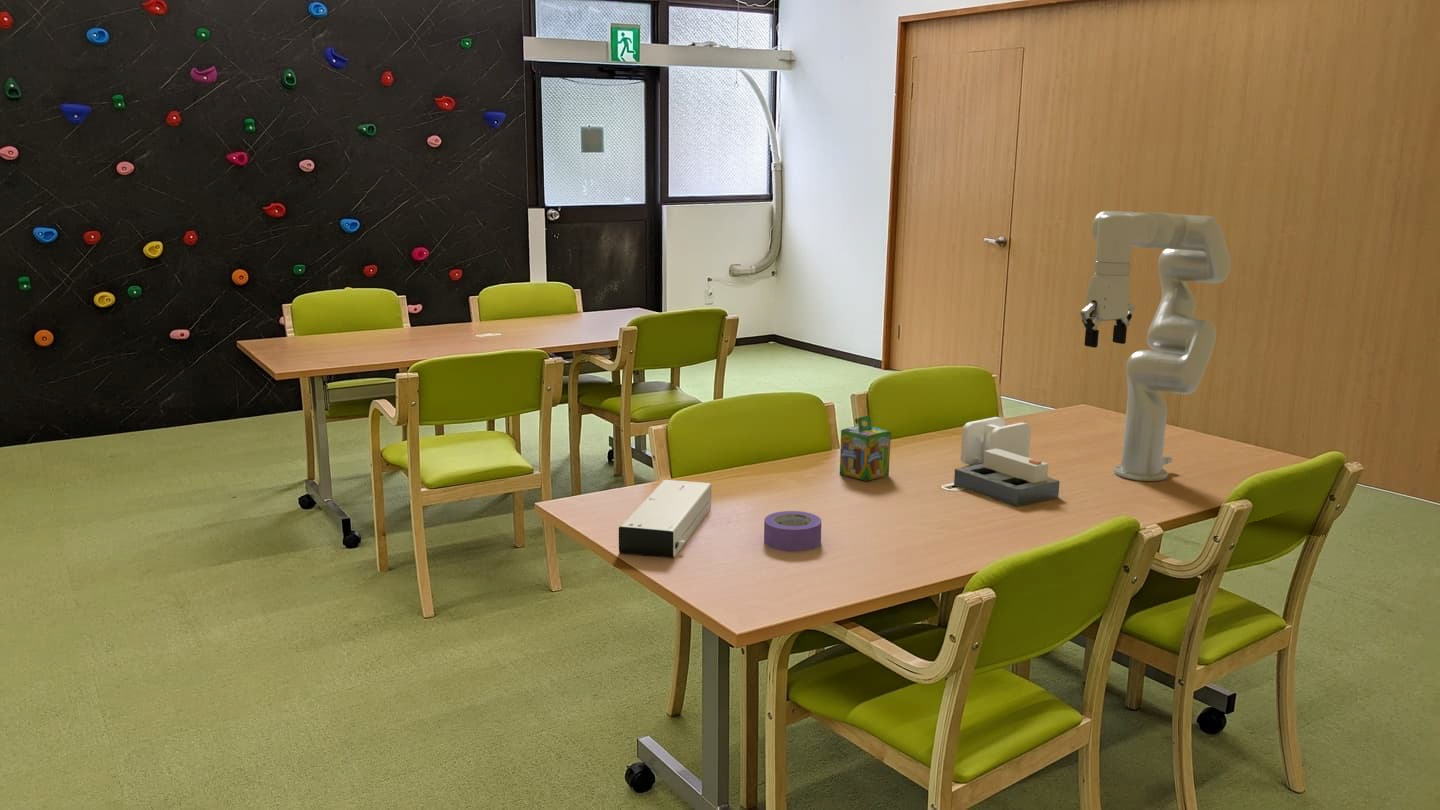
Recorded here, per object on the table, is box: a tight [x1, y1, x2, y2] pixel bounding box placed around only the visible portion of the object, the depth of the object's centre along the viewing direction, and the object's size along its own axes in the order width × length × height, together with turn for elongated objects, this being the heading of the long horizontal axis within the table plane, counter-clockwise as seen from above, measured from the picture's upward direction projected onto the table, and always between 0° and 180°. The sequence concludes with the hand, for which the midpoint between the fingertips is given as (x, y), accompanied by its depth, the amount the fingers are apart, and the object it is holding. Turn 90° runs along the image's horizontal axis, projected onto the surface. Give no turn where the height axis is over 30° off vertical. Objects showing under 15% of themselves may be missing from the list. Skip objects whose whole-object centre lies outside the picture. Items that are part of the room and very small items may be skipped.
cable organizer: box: [960, 416, 1032, 466], centre depth 293 cm, size 15×11×12 cm
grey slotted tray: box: [953, 463, 1061, 508], centre depth 273 cm, size 14×20×4 cm
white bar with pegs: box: [982, 448, 1049, 483], centre depth 274 cm, size 4×16×8 cm, turn 34°
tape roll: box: [763, 510, 822, 553], centre depth 236 cm, size 12×12×5 cm
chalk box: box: [839, 414, 892, 482], centre depth 284 cm, size 9×9×15 cm
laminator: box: [618, 479, 712, 559], centre depth 242 cm, size 34×12×6 cm, turn 168°
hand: (1105, 344), depth 261 cm, fingers open, 9 cm apart
